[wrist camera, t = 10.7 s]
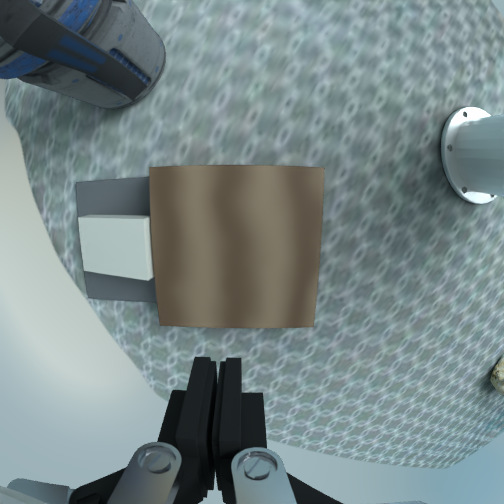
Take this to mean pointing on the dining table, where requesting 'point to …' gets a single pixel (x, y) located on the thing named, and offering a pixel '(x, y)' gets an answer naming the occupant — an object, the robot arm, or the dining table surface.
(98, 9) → the beverage bottle
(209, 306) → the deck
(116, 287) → the mat
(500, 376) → the jawbone
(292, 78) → the dining table surface
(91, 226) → the pale grey flat tile
